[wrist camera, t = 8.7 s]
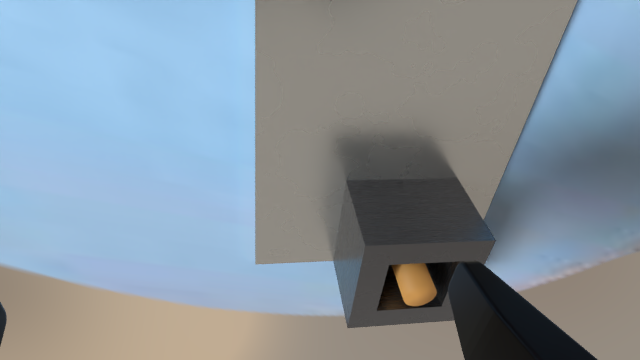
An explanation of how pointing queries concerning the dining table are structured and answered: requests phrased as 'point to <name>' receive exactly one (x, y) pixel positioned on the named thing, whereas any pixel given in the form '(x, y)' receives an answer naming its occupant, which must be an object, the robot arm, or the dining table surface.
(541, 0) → the tie plate
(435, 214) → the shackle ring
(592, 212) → the dining table surface
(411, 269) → the post
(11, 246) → the dining table surface
